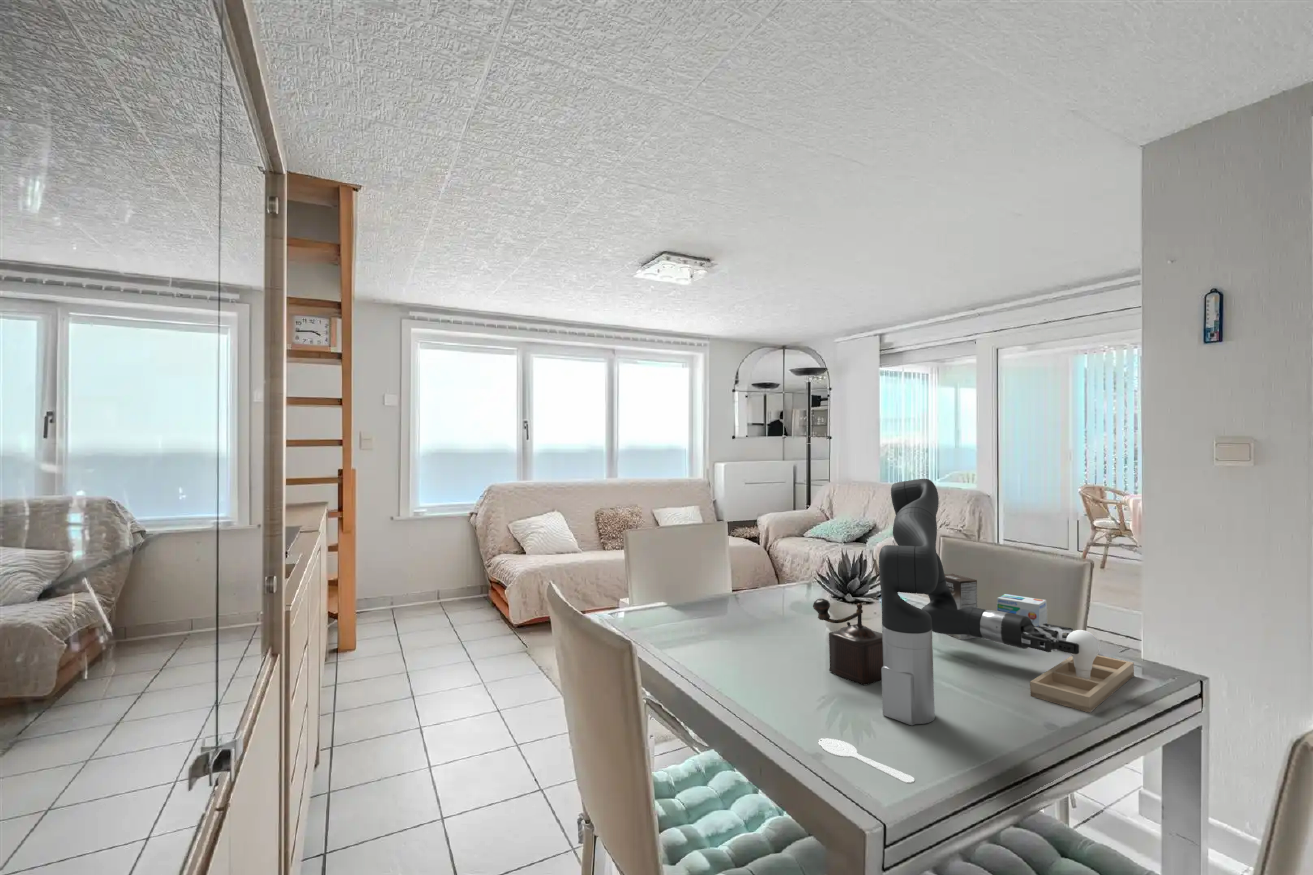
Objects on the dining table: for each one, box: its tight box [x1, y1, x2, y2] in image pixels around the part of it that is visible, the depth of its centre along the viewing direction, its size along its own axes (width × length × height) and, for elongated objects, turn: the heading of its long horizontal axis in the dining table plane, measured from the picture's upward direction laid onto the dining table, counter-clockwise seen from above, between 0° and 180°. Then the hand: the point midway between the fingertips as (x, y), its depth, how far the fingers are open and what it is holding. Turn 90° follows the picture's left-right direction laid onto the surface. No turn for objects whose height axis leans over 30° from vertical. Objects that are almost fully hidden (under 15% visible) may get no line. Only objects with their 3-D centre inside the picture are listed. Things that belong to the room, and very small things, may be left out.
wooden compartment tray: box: [1029, 654, 1135, 713], centre depth 130 cm, size 30×10×3 cm, turn 128°
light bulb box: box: [996, 593, 1048, 627], centre depth 163 cm, size 11×7×11 cm, turn 42°
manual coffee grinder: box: [812, 598, 883, 686], centre depth 138 cm, size 16×11×18 cm
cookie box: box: [944, 573, 979, 641], centre depth 168 cm, size 9×6×16 cm
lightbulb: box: [1066, 629, 1101, 679], centre depth 130 cm, size 6×6×11 cm
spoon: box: [817, 737, 915, 784], centre depth 101 cm, size 5×18×1 cm, turn 37°
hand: (1085, 644), depth 130 cm, fingers open, 8 cm apart
